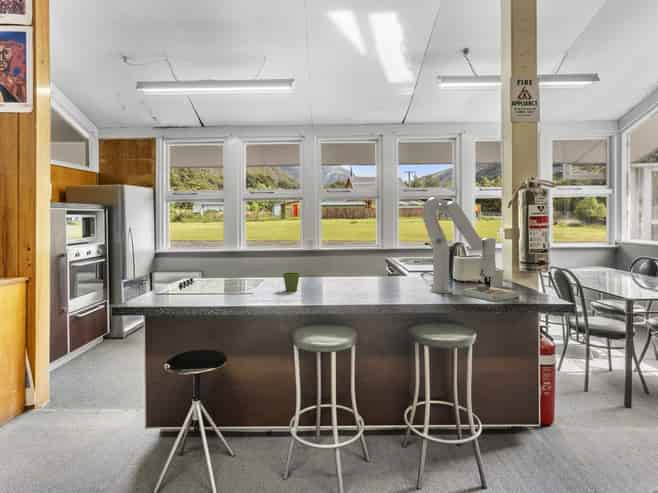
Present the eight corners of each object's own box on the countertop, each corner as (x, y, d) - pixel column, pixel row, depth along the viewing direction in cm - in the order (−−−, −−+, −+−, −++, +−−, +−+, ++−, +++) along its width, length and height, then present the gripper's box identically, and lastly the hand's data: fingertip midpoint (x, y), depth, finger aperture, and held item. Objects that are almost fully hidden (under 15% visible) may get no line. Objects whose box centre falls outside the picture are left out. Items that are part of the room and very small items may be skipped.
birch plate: (477, 293, 253) (477, 288, 253) (489, 291, 259) (489, 287, 259) (505, 299, 236) (505, 294, 236) (517, 297, 241) (517, 292, 241)
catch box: (463, 295, 249) (463, 289, 249) (475, 293, 254) (475, 287, 254) (493, 301, 230) (493, 295, 230) (506, 299, 235) (506, 293, 235)
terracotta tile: (492, 293, 239) (492, 297, 239) (486, 294, 236) (486, 298, 236) (499, 294, 234) (499, 299, 234) (494, 295, 232) (493, 300, 232)
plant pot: (302, 291, 262) (302, 274, 261) (284, 292, 259) (284, 275, 258) (298, 288, 273) (298, 271, 273) (280, 289, 270) (280, 272, 269)
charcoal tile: (477, 289, 251) (476, 285, 251) (482, 288, 253) (482, 284, 253) (483, 291, 246) (483, 287, 246) (489, 289, 249) (489, 285, 248)
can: (493, 287, 273) (494, 269, 272) (485, 285, 282) (486, 267, 281) (506, 287, 275) (506, 269, 274) (497, 284, 284) (498, 267, 283)
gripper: (491, 256, 257) (490, 285, 259) (475, 258, 250) (474, 287, 251) (501, 257, 251) (500, 287, 252) (485, 259, 243) (484, 289, 245)
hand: (487, 287), depth 252 cm, fingers closed
